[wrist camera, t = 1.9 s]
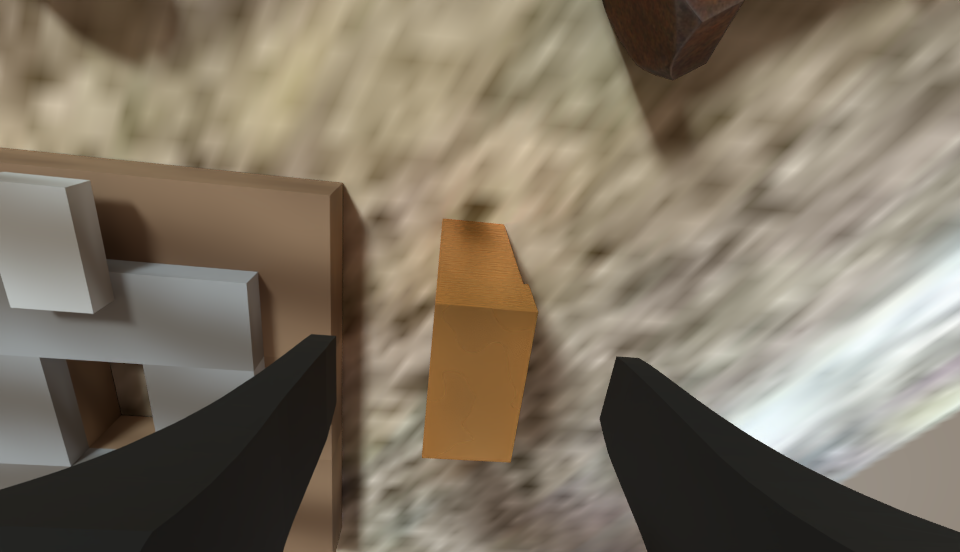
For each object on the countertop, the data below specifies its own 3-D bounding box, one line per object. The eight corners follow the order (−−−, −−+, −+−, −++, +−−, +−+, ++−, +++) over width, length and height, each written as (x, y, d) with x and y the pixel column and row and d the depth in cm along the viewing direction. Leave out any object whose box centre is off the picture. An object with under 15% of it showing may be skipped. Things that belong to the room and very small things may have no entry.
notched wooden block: (490, 320, 20) (510, 462, 13) (434, 316, 20) (421, 457, 13) (504, 217, 18) (538, 312, 11) (443, 211, 18) (435, 303, 11)
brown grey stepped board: (341, 526, 24) (321, 607, 21) (7, 514, 23) (-78, 597, 19) (342, 182, 17) (313, 211, 14) (-136, 133, 16) (-310, 151, 12)
